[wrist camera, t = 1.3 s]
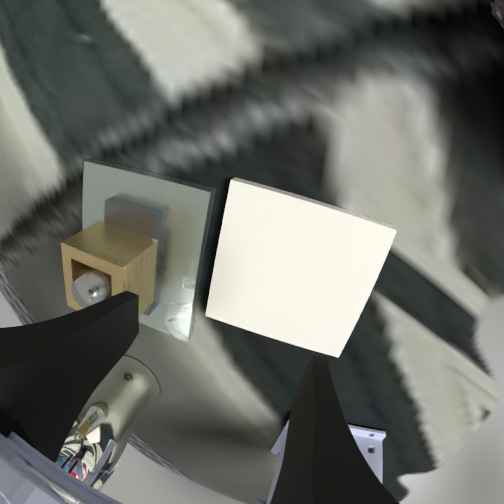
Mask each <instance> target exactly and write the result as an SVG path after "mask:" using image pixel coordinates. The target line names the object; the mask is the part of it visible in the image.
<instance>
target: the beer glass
mask: <svg viewBox="0 0 504 504" xmlns="http://www.w3.org/2000/svg"><path fill="white" fill-rule="evenodd" d="M159 392H160V387H159V383H158V381H157V379H156V377H155V376H154V374H153V373H152V372H151V371H150V370H149V369H148V368H147V367H146V366H145V365H144V364H142V363H141V362H139V361H138V360H136V359H134V358H132V357H129V356H125V355H123V356H122V358H121V359H120V360H119V361H118V362H117V364H116V365H115V366H114V367H113V368H112V370H111V371H110V372H109V373H108V374H107V375H106V377H105V378H104V379H103V380H102V381H101V383H100V384H99V385H98V386H97V388H96V389H95V390H94V392H93V393H92V395H91V396H90V398H89V399H88V401H87V403H86V404H85V406H84V407H83V409H82V411H81V413H80V414H79V416H78V418H77V419H76V421H75V423H74V425H73V427H72V429H71V431H70V433H69V435H68V437H67V439H66V441H65V443H64V445H63V447H62V449H61V452H60V454H59V456H58V459H57V461H56V462H55V464H56V465H58V466H59V467H61V468H62V469H64V470H65V471H67V472H68V473H70V474H71V475H73V476H75V477H76V478H78V479H79V480H81V481H83V482H84V483H86V484H88V485H89V486H91V487H93V488H94V489H96V490H98V491H100V490H101V489H102V488H103V487H104V485H105V484H106V482H107V481H108V480H109V478H110V477H111V475H112V474H113V472H114V470H115V469H116V467H117V465H118V463H119V461H120V459H121V456H122V454H123V452H124V450H125V447H126V445H127V442H128V440H129V437H130V435H131V432H132V430H133V427H134V425H135V423H136V421H137V419H138V417H139V416H140V414H141V413H142V412H143V411H144V409H145V408H146V407H147V406H149V405H150V404H151V403H152V402H153V401H154V400H155V399H156V398H157V396H158V395H159ZM31 468H32V467H31ZM32 469H33V468H32ZM33 470H34V469H33ZM34 471H35V470H34ZM35 472H36V473H37V474H39V473H38V472H37V471H35ZM39 475H40V476H41V477H42V478H43V479H45V480H46V481H47V482H48V483H49V485H50V486H51V487H52V489H53V490H54V491H55V492H56V493H58V494H59V495H60V496H62V497H63V498H65V499H66V500H68V501H70V502H71V503H73V504H84V503H82V502H81V501H79V500H78V499H76V498H74V497H73V496H71V495H70V494H68V493H67V492H65V491H64V490H62V489H61V488H59V487H58V486H56V485H55V484H53V483H52V482H50V481H49V480H48V479H46V478H45V477H43V476H42V475H41V474H39Z"/></svg>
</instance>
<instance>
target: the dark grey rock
mask: <svg viewBox="0 0 504 504" xmlns="http://www.w3.org/2000/svg"><path fill="white" fill-rule="evenodd" d="M490 4H491V6H492V14H493V15H494V16H495V18H496V19H497V20H498V21H499V23H500V24H501V26H502V27H503V29H504V1H502V0H495V1H494V3H491V2H490Z"/></svg>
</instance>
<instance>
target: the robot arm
mask: <svg viewBox="0 0 504 504" xmlns="http://www.w3.org/2000/svg"><path fill="white" fill-rule="evenodd" d="M138 333H139V295H137V294H134V293H132V292H129V291H127V290H126V291H124V292H121V293H119V294H116V295H114V296H111V297H109V298H107V299H105V300H102V301H100V302H98V303H95V304H93V305H90V306H88V307H86V308H83V309H80V310H78V311H75V312H72V313H70V314H67V315H64V316H61V317H58V318H55V319H51V320H47V321H43V322H39V323H34V324H29V325H23V326H16V327H7V328H0V504H69V503H67V502H66V501H65V500H64V499H63V498H62V497H61V496H60V495H59V494H57V493H56V492H55V491H54V490H53V489H52V487H51V486H50V485H49V483H48V482H47V481H46V480H45V479H43V478H42V477H41V476H40V475H39V474H41V475H42V476H43V477H45V478H46V479H48V480H49V481H50V482H52V483H53V484H55V485H56V486H58V487H59V488H61V489H62V490H64V491H65V492H67V493H68V494H70V495H71V496H73V497H74V498H76V499H78V500H79V501H81V502H82V503H84V504H122V503H120V502H118V501H116V500H114V499H112V498H110V497H108V496H107V495H105V494H103V493H101V492H100V491H98V490H96V489H94V488H93V487H91V486H89V485H88V484H86V483H84V482H83V481H81V480H79V479H78V478H76V477H75V476H73V475H71V474H70V473H68V472H67V471H65V470H64V469H62V468H61V467H59V466H58V465H56V464H55V462H56V461H57V459H58V456H59V454H60V452H61V449H62V447H63V445H64V443H65V441H66V439H67V437H68V435H69V433H70V431H71V429H72V427H73V425H74V423H75V421H76V419H77V418H78V416H79V414H80V413H81V411H82V409H83V407H84V406H85V404H86V403H87V401H88V399H89V398H90V396H91V395H92V393H93V392H94V390H95V389H96V388H97V386H98V385H99V384H100V383H101V381H102V380H103V379H104V378H105V377H106V375H107V374H108V373H109V372H110V371H111V370H112V368H113V367H114V366H115V365H116V364H117V362H118V361H119V360H120V359H121V358H122V356H123V355H124V354H125V353H126V352H127V350H128V349H129V347H130V346H131V344H132V342H133V341H134V339H135V338H136V336H137V334H138ZM385 437H386V432H384V431H379V430H374V429H368V428H363V427H358V426H353V425H348V423H347V421H346V418H345V415H344V413H343V410H342V407H341V404H340V401H339V398H338V395H337V391H336V388H335V384H334V381H333V377H332V373H331V368H330V364H329V361H328V360H327V359H324V358H320V357H317V356H312V358H311V360H310V362H309V364H308V366H307V368H306V370H305V372H304V374H303V376H302V378H301V380H300V382H299V384H298V386H297V388H296V392H295V396H294V399H293V403H292V407H291V411H290V417H289V420H288V422H287V423H286V425H285V427H284V429H283V430H282V432H281V434H280V435H279V437H278V439H277V440H276V442H275V444H274V445H273V447H272V449H271V453H273V454H275V455H279V458H278V462H277V466H276V470H275V474H274V478H273V481H272V485H271V489H270V493H269V496H268V500H267V504H399V503H398V502H397V501H396V500H395V498H394V497H393V496H392V495H391V494H390V493H389V492H388V491H387V489H386V488H385V487H384V486H383V484H382V440H383V439H384V438H385ZM31 467H32V468H33V469H34V470H35V471H37V472H38V473H39V474H37V473H36V472H35V471H34V470H33V469H32V468H31Z"/></svg>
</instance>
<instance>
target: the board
mask: <svg viewBox="0 0 504 504" xmlns="http://www.w3.org/2000/svg"><path fill="white" fill-rule="evenodd" d="M396 232H397V230H396V228H395V226H393V225H390V224H387V223H384V222H381V221H379V220H376V219H373V218H370V217H367V216H364V215H361V214H358V213H355V212H352V211H349V210H345V209H342V208H339V207H336V206H333V205H330V204H326V203H323V202H320V201H317V200H314V199H310V198H307V197H304V196H300V195H297V194H293V193H290V192H287V191H283V190H280V189H276V188H273V187H269V186H265V185H262V184H258V183H255V182H251V181H247V180H243V179H240V178H236V177H234V178H233V179H231V181H230V186H229V191H228V196H227V201H226V206H225V211H224V216H223V221H222V227H221V232H220V237H219V242H218V248H217V253H216V258H215V264H214V269H213V275H212V280H211V286H210V292H209V297H208V303H207V309H206V315H205V316H208V317H211V318H213V319H216V320H219V321H222V322H225V323H228V324H231V325H234V326H237V327H240V328H243V329H246V330H249V331H252V332H255V333H258V334H261V335H264V336H267V337H270V338H274V339H277V340H280V341H283V342H286V343H290V344H293V345H296V346H300V347H303V348H306V349H310V350H313V351H317V352H320V353H324V354H327V355H331V356H334V357H338V358H339V356H340V354H341V352H342V350H343V348H344V346H345V344H346V342H347V340H348V339H349V337H350V335H351V333H352V331H353V329H354V327H355V325H356V323H357V321H358V318H359V316H360V314H361V312H362V310H363V308H364V306H365V304H366V302H367V300H368V297H369V295H370V293H371V291H372V289H373V286H374V284H375V282H376V280H377V277H378V275H379V273H380V271H381V268H382V266H383V264H384V261H385V259H386V256H387V254H388V252H389V249H390V247H391V244H392V242H393V239H394V237H395V234H396Z"/></svg>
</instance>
